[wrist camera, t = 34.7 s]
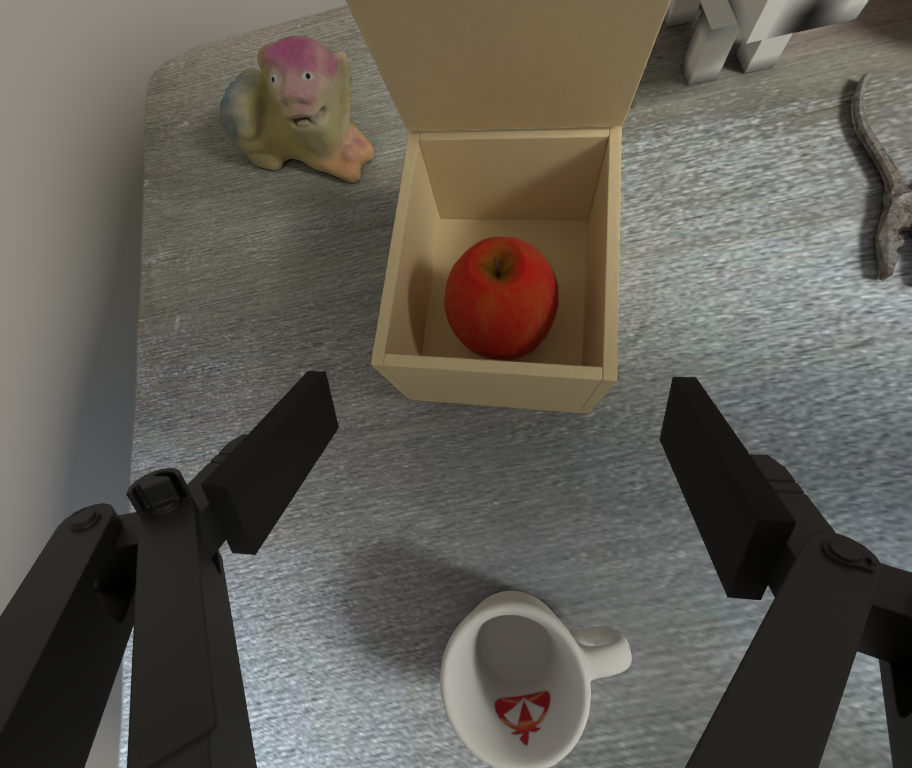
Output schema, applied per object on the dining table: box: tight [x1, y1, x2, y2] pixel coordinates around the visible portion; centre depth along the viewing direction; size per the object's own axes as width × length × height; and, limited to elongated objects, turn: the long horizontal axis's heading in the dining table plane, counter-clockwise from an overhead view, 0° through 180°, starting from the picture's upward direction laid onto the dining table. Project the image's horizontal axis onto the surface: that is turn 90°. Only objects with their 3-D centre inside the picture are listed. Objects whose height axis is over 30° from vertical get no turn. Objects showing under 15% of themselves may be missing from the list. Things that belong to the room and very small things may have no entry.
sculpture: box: [220, 36, 374, 183], centre depth 40 cm, size 15×8×10 cm, turn 79°
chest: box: [371, 127, 622, 414], centre depth 32 cm, size 18×15×10 cm
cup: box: [440, 591, 631, 768], centre depth 26 cm, size 11×8×8 cm
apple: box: [444, 237, 559, 360], centre depth 30 cm, size 8×8×11 cm
